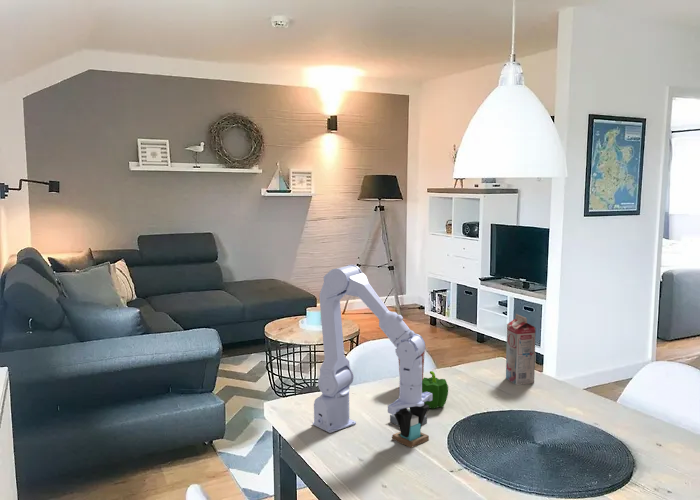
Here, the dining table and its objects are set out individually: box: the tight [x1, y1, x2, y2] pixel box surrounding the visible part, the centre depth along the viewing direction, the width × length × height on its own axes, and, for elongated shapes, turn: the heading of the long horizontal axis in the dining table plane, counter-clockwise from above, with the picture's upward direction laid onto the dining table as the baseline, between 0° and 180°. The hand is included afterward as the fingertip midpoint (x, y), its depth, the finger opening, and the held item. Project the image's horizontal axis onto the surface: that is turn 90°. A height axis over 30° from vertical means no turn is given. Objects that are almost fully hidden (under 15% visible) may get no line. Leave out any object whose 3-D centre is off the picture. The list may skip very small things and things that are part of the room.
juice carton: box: [505, 313, 536, 386], centre depth 195 cm, size 7×7×22 cm
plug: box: [401, 415, 422, 441], centre depth 152 cm, size 4×4×6 cm
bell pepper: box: [422, 370, 449, 409], centre depth 175 cm, size 8×8×10 cm
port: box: [389, 408, 428, 427], centre depth 163 cm, size 7×7×2 cm
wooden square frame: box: [391, 431, 430, 448], centre depth 152 cm, size 7×7×1 cm
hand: (410, 433), depth 152 cm, fingers closed on plug, 4 cm apart
